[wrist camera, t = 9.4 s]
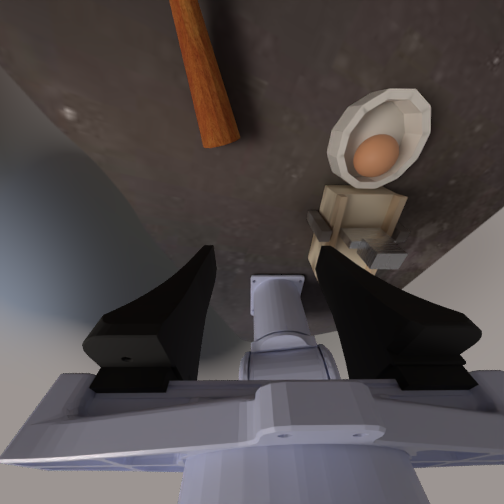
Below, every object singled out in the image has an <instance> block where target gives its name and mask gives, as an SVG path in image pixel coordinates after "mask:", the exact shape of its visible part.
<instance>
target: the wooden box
mask: <svg viewBox="0 0 504 504" xmlns="http://www.w3.org/2000/svg"><path fill="white" fill-rule="evenodd" d="M407 198H408V197H406V196H403V195H400V194H396V193H394V192H392V191H390V190H388V189H387V188H385V187H383V186H380V187H378V188H376V189H364V188H355V187H353V186H352V185H325V189H324V193H323V197H322V201H321V205H320V210H319V213H318V211H317V210H308V214H307V219H306V220H307V221H308V223H309V225H310V227H311V228H312V230H313V232H314V235H313V239H312V243H311V248H310V252H309V256H308V259H309V262H310V264H311V266H312V269H313V271H314V272H315V276H316V278H317V275H316V271H315V267H316V264H317V260H318V256H319V253H320V249H321V246H332V247H334V248H335V249H337V250H338V251H339V252H341V253H342V254H344V255H345V256H346V257H348V258H349V259H350V260H352V261H353V262H355V263H356V264H357V265H359V266H360V267H362V268H363V269H365V270H366V271H368V272H370V273H371V274H373V275H374V276H375V273H376V271H377V269H369V268H368V266H367V265H366V264H365V263H364V261H363V260H362V259H361V258H360V256H359V255H358V254H357V253H356V251H357V249H349V248H348V247H347V245H346V244H345V243H344V241H343V240H342V239H341V237H340V236H339V235H338V234H339V231H340V228H381V229H382V230H383V231H384V232H385V233H387V234H388V235H389V236H390V237H391V238H393V239H394V240H395V241H396V242H405V241H406V239H407V238H408V236H409V234H410V232H411V231H409V230H408V229H407V228H405V227H404V226H402V225H401V224H399V223H398V219H399V217H400V215H401V212H402V210H403V208H404V205H405V203H406V201H407ZM317 280H318V278H317Z"/></svg>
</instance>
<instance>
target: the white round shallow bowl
mask: <svg viewBox="0 0 504 504" xmlns="http://www.w3.org/2000/svg"><path fill="white" fill-rule="evenodd" d="M430 132H431V106H430V104H429V103H428V102H427V101H426V100H425V99H424V98H423V96H422V95H421V94H420V93H419V92H418V91H417V90H416V89H386V90H381V91H377V92H372V93H370V94H368V95H367V96H365V97H363V98H362V99H360V100H359V101H357V102H355V103H354V104H352V105H350V106H349V107H348V108H347V109H346V111H345V112H344V113H343V115H342V116H341V118H340V119H339V121H338V122H337V123H336V125H335V126H334V128H333V129H332V132H331V137H330V141H329V146H328V150H327V156H328V159H329V163H330V166H331V170H332V172H333V173H335V174H336V175H337V176H339V177H340V178H341V179H343V180H344V181H345V182H347V183H349V184H350V185H352V186H353V187H355V188H364V189H376V188H378V187H380V186H383V185H385V184H387V183H389V182H391V181H393V180H395V179H397V178H399V177H400V176H401V175H402V174H403V173H404V172H405V171H406V170H407V169H408V168H409V167H410V166H411V165H412V164H413V163H414V162H415V161H416V160H417V159H418V157H419V155H420V153H421V151H422V149H423V147H424V145H425V143H426V141H427V139H428V137H429V135H430ZM378 134H386V135H390V136H392V137H393V138H394V139H395V140H396V141H397V142H398V145H399V156H398V159H397V161H396V163H395V164H394V165H393V167H392V168H391V169H390V170H388V171H387V172H386V173H384V174H382V175H380V176H377V177H365V176H362V175H360V174H359V173H358V172H357V171H356V170H355V168H354V164H353V158H354V154H355V152H356V150H357V148H358V147H359V146H360V144H361V143H362V142H364V141H365V140H366V139H368V138H369V137H372V136H374V135H378Z"/></svg>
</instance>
